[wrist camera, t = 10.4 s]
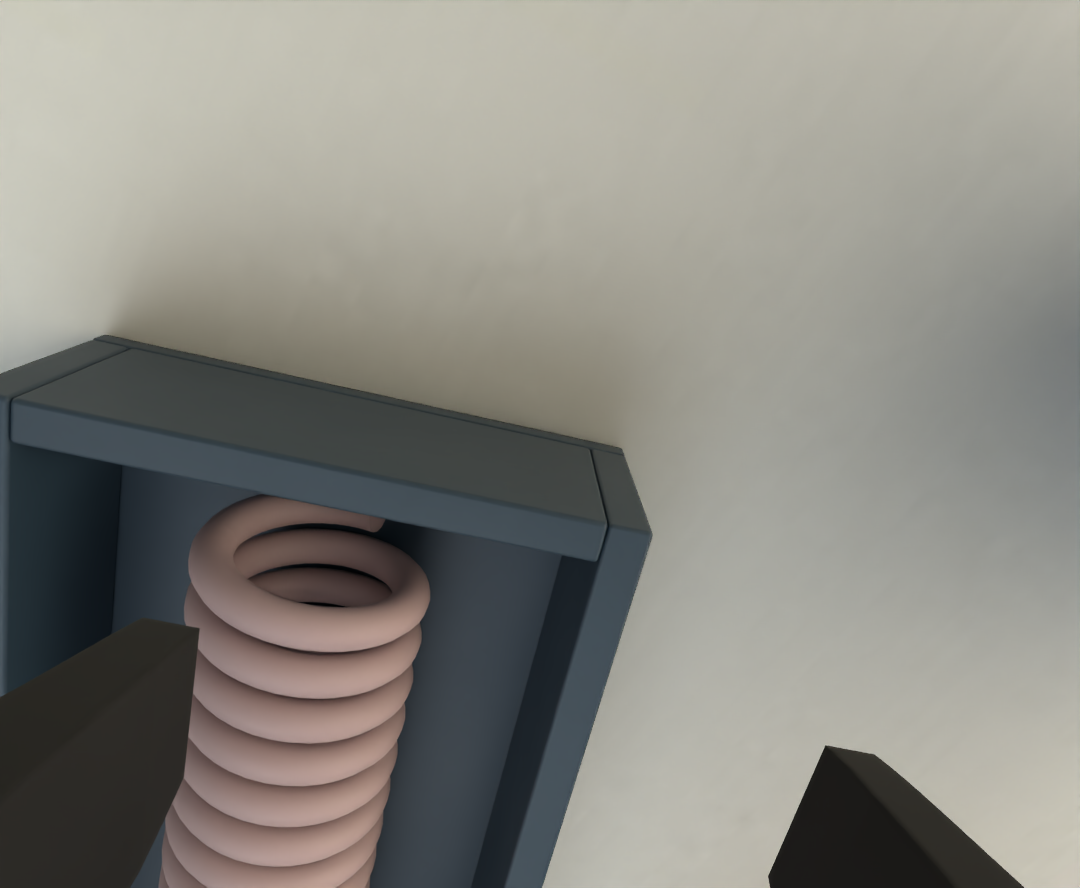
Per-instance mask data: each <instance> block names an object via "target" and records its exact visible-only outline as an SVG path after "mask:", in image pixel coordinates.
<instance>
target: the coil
mask: <svg viewBox="0 0 1080 888" xmlns="http://www.w3.org/2000/svg"><path fill="white" fill-rule="evenodd" d="M385 520H386V519H382V518H377V517H373V516H368V515H363V514H358V513H353V512H348V511H343V510H338V509H334V508H329V507H324V506H319V505H314V504H309V503H304V502H299V501H295V500H290V499H285V498H280V497H275V496H270V495H265V494H259V495H255V496H252V497H248V498H246V499H243V500H241V501H238V502H235V503H233V504H232V505H230V506H228V507H226V508H224V509H222V510H221V511H220V512H218V513H217V514H216V515H214V516H213V517H212V518H211V519H210V520H209V521H208V522H207V523H206V524H205V525H204V526H203V527H202V528H201V529H200V530H199V531H198V533H197V534H196V536H195V538H194V540H193V541H192V545H191V549H190V553H189V560H188V567H189V575H190V578H191V583H190V585H189V587H188V590H187V594H186V598H185V605H184V621H185V624H186V626H191V627H196V628H200V631H199V641H198V650H197V659H196V669H195V678H194V687H193V697H192V706H191V716H190V725H189V734H188V744H187V753H186V763H185V772H184V778H183V780H182V783H181V785H180V787H179V789H178V791H177V794H176V796H175V798H174V800H173V802H172V804H171V807H170V809H169V811H168V813H167V815H166V817H165V826H166V828H165V833H164V839H163V845H162V866H161V872H160V878H159V885H158V886H159V888H369V886H370V875H371V872H372V870H373V867H374V863H375V859H376V845H377V841H378V839H379V837H380V834H381V830H382V826H383V810H384V807H385V805H386V803H387V800H388V796H389V792H390V775H391V773H392V771H393V768H394V766H395V762H396V759H397V755H398V743H397V739H398V737H399V735H400V733H401V731H402V728H403V725H404V721H405V703H404V702H405V700H406V699H407V697H408V694H409V692H410V690H411V686H412V683H413V666H412V662H413V660H414V659H415V657H416V655H417V653H418V650H419V648H420V644H421V641H422V631H421V625H420V621H421V619H422V618H423V617H424V615H425V612H426V610H427V608H428V605H429V602H430V587H429V582H428V579H427V576H426V574H425V573H424V571H423V570H422V568H421V567H420V566H419V565H418V564H417V563H416V562H415V561H414V560H413V559H412V558H411V557H410V556H409V555H408V554H406V553H405V552H403V551H402V550H400V549H399V548H397V547H395V546H393V545H391V544H389V543H387V542H384V541H382V540H379V539H376V538H373V537H370V536H367V535H363V534H358V533H354V532H348V531H342V530H333V529H311V528H304V529H290V530H282V531H275V532H270V533H266V534H261V535H257V534H259V533H261V532H264V531H267V530H270V529H273V528H278V527H282V526H287V525H294V524H305V523H328V524H339V525H346V526H351V527H356V528H360V529H364V530H367V531H370V532H377V531H378V530H379V529H380V528H381V527H382V525H383V523H384V522H385ZM254 535H257V536H254ZM252 536H254V537H252ZM304 563H320V564H333V565H339V566H345V567H349V568H354V569H357V570H360V571H363V572H366V573H368V574H370V575H373V576H375V577H376V578H378V579H380V580H382V581H383V582H384V583H386V584H387V585H388V586H387V585H385V584H384V583H382V582H379V581H377V580H375V579H373V578H370V577H367V576H364V575H361V574H358V573H353V572H349V571H344V570H337V569H330V568H316V567H305V568H289V569H280V570H274V571H269V572H264V573H261V572H263V571H266V570H269V569H273V568H277V567H281V566H287V565H293V564H304ZM258 573H261V574H258ZM256 574H257V575H256ZM299 602H321V603H330V604H336V605H341V606H345V607H329V606H320V605H309V604H304V603H299ZM272 643H273V644H272Z"/></svg>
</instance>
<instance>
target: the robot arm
mask: <svg viewBox="0 0 1080 888" xmlns="http://www.w3.org/2000/svg"><path fill="white" fill-rule="evenodd" d="M199 631H200V628H196V627H191V626H186V625H180V624H175V623H170V622H164V621H159V620H154V619H148V618H143V617H142V618H141V619H139V620H137V621H135V622H133V623H131V624H129V625H127V626H126V627H124V628H122V629H120V630H118V631H117V632H115V633H113V634H111V635H109V636H108V637H106V638H104V639H102V640H101V641H99V642H97V643H95V644H94V645H92V646H90V647H88V648H87V649H85V650H83V651H81V652H80V653H78V654H76V655H74V656H73V657H71V658H69V659H67V660H66V661H64V662H62V663H60V664H59V665H57V666H55V667H53V668H52V669H50V670H48V671H46V672H44V673H43V674H41V675H39V676H37V677H36V678H34V679H32V680H30V681H29V682H27V683H25V684H23V685H21V686H19V687H18V688H16V689H14V690H12V691H10V692H9V693H7V694H5V695H3V696H1V697H0V888H130V887H131V885H132V884H133V882H134V880H135V879H136V877H137V875H138V873H139V872H140V870H141V868H142V866H143V864H144V862H145V859H146V857H147V855H148V853H149V851H150V849H151V847H152V845H153V843H154V841H155V839H156V837H157V835H158V832H159V830H160V828H161V826H162V824H163V822H164V820H165V817H166V815H167V813H168V811H169V809H170V807H171V804H172V802H173V800H174V798H175V796H176V794H177V791H178V789H179V787H180V785H181V783H182V780H183V778H184V772H185V763H186V753H187V744H188V734H189V725H190V716H191V706H192V697H193V687H194V678H195V669H196V659H197V650H198V641H199ZM768 878H769V883H770V888H1024V887H1023V886H1022V885H1021V884H1020V883H1019V882H1018V881H1016V880H1015V879H1014V878H1013V877H1012V876H1011V875H1010V874H1009V873H1008V872H1007V871H1006V870H1004V869H1003V868H1002V867H1001V866H1000V865H999V864H998V863H997V862H996V861H995V860H994V859H992V858H991V857H990V856H989V855H988V854H987V853H986V852H985V851H984V850H983V849H982V848H980V847H979V846H978V845H977V844H976V843H975V842H974V841H973V840H972V839H971V838H970V837H969V836H967V835H966V834H965V833H964V832H963V831H962V830H961V829H960V828H959V827H958V826H957V825H955V824H954V823H953V822H952V821H951V820H950V819H949V818H948V817H947V816H946V815H944V814H943V813H942V812H941V811H940V810H939V809H938V808H937V807H936V806H935V805H933V804H932V803H931V802H930V801H929V800H928V799H927V798H926V797H924V796H923V795H922V794H921V793H920V792H919V791H918V790H917V789H915V788H914V787H913V786H912V785H911V784H910V783H909V782H907V781H906V780H905V779H904V778H903V777H902V776H900V775H899V774H898V773H897V772H896V771H894V770H893V769H892V768H891V767H890V766H888V765H887V764H886V763H885V762H883V761H882V760H881V759H879V758H878V757H877V756H876V755H874V754H869V753H863V752H858V751H853V750H847V749H842V748H837V747H831V746H825V748H824V750H823V752H822V755H821V757H820V759H819V762H818V764H817V766H816V768H815V771H814V773H813V775H812V778H811V780H810V782H809V784H808V787H807V789H806V791H805V793H804V796H803V798H802V800H801V803H800V805H799V807H798V809H797V812H796V814H795V816H794V819H793V821H792V823H791V825H790V828H789V830H788V832H787V835H786V837H785V839H784V841H783V844H782V846H781V848H780V851H779V853H778V855H777V857H776V860H775V862H774V864H773V866H772V869H771V871H770V873H769V876H768Z"/></svg>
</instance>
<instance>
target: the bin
mask: <svg viewBox="0 0 1080 888" xmlns="http://www.w3.org/2000/svg"><path fill="white" fill-rule="evenodd" d="M259 494H265V495H270V496H275V497H280V498H285V499H290V500H295V501H299V502H304V503H309V504H314V505H319V506H324V507H329V508H334V509H338V510H343V511H348V512H353V513H358V514H363V515H368V516H373V517H377V518H382V519H386V520H385V522H384V523H383V525H382V527H381V528H380V529H379V530H378V531H377V532H370V531H367V530H364V529H360V528H356V527H351V526H346V525H339V524H328V523H305V524H294V525H287V526H282V527H278V528H273V529H270V530H267V531H264V532H261V533H259V534H257V535H261V534H266V533H270V532H275V531H282V530H290V529H304V528H311V529H333V530H342V531H348V532H354V533H358V534H363V535H367V536H370V537H373V538H376V539H379V540H382V541H384V542H387V543H389V544H391V545H393V546H395V547H397V548H399V549H400V550H402V551H403V552H405V553H406V554H408V555H409V556H410V557H411V558H412V559H413V560H414V561H415V562H416V563H417V564H418V565H419V566H420V567H421V568H422V570H423V571H424V573H425V574H426V576H427V579H428V582H429V587H430V602H429V605H428V608H427V610H426V612H425V615H424V617H423V618H422V619H421V621H420V625H421V631H422V641H421V644H420V648H419V650H418V653H417V655H416V657H415V659H414V660H413V662H412V666H413V683H412V686H411V690H410V692H409V694H408V697H407V699H406V700H405V702H404V703H405V721H404V725H403V728H402V731H401V733H400V735H399V737H398V739H397V743H398V755H397V759H396V762H395V766H394V768H393V771H392V773H391V775H390V792H389V796H388V800H387V803H386V805H385V807H384V810H383V826H382V830H381V834H380V837H379V839H378V841H377V845H376V859H375V863H374V867H373V870H372V872H371V875H370V886H369V888H542V886H543V883H544V880H545V876H546V873H547V870H548V867H549V864H550V861H551V857H552V854H553V851H554V848H555V845H556V841H557V838H558V835H559V832H560V829H561V826H562V822H563V819H564V816H565V813H566V810H567V806H568V803H569V800H570V797H571V794H572V791H573V787H574V784H575V781H576V778H577V775H578V771H579V768H580V765H581V762H582V759H583V756H584V752H585V749H586V746H587V743H588V740H589V736H590V733H591V730H592V727H593V724H594V721H595V717H596V714H597V711H598V708H599V705H600V701H601V698H602V695H603V692H604V689H605V686H606V682H607V679H608V676H609V673H610V670H611V666H612V663H613V660H614V657H615V654H616V650H617V647H618V644H619V641H620V638H621V635H622V631H623V628H624V625H625V622H626V619H627V615H628V612H629V609H630V606H631V603H632V600H633V596H634V593H635V590H636V587H637V584H638V580H639V577H640V574H641V571H642V568H643V565H644V561H645V558H646V555H647V552H648V549H649V545H650V542H651V539H652V531H651V528H650V525H649V523H648V520H647V517H646V514H645V512H644V509H643V506H642V503H641V501H640V498H639V495H638V492H637V489H636V487H635V484H634V481H633V478H632V476H631V473H630V470H629V467H628V465H627V462H626V459H625V457H624V453H623V450H622V449H621V448H618V447H613V446H608V445H604V444H599V443H595V442H590V441H586V440H581V439H577V438H572V437H568V436H563V435H558V434H554V433H549V432H545V431H540V430H536V429H531V428H527V427H522V426H518V425H513V424H508V423H504V422H499V421H495V420H490V419H486V418H481V417H477V416H472V415H468V414H463V413H458V412H454V411H449V410H445V409H440V408H436V407H431V406H427V405H422V404H418V403H413V402H409V401H404V400H399V399H395V398H390V397H386V396H381V395H377V394H372V393H368V392H363V391H359V390H354V389H349V388H345V387H340V386H336V385H331V384H327V383H322V382H318V381H313V380H309V379H304V378H299V377H295V376H290V375H286V374H281V373H277V372H272V371H268V370H263V369H259V368H254V367H249V366H245V365H240V364H236V363H231V362H227V361H222V360H218V359H213V358H209V357H204V356H199V355H195V354H190V353H186V352H181V351H177V350H172V349H168V348H163V347H159V346H154V345H149V344H145V343H140V342H136V341H131V340H127V339H122V338H118V337H113V336H109V335H103V336H100V337H97V338H95V339H94V340H92V341H88V342H86V343H83V344H80V345H77V346H75V347H72V348H69V349H66V350H64V351H61V352H58V353H55V354H53V355H50V356H47V357H44V358H42V359H39V360H36V361H33V362H31V363H28V364H25V365H22V366H20V367H17V368H14V369H12V370H9V371H6V372H3V373H1V374H0V697H1V696H3V695H5V694H7V693H9V692H10V691H12V690H14V689H16V688H18V687H19V686H21V685H23V684H25V683H27V682H29V681H30V680H32V679H34V678H36V677H37V676H39V675H41V674H43V673H44V672H46V671H48V670H50V669H52V668H53V667H55V666H57V665H59V664H60V663H62V662H64V661H66V660H67V659H69V658H71V657H73V656H74V655H76V654H78V653H80V652H81V651H83V650H85V649H87V648H88V647H90V646H92V645H94V644H95V643H97V642H99V641H101V640H102V639H104V638H106V637H108V636H109V635H111V634H113V633H115V632H117V631H118V630H120V629H122V628H124V627H126V626H127V625H129V624H131V623H133V622H135V621H137V620H139V619H141V618H142V617H143V618H148V619H154V620H159V621H164V622H170V623H175V624H180V625H186V624H185V621H184V605H185V598H186V594H187V590H188V587H189V585H190V583H191V578H190V575H189V567H188V560H189V553H190V549H191V545H192V541H193V540H194V538H195V536H196V534H197V533H198V531H199V530H200V529H201V528H202V527H203V526H204V525H205V524H206V523H207V522H208V521H209V520H210V519H211V518H212V517H213V516H214V515H216V514H217V513H218V512H220V511H221V510H222V509H224V508H226V507H228V506H230V505H232V504H233V503H235V502H238V501H241V500H243V499H246V498H248V497H252V496H255V495H259ZM257 535H254V536H257ZM254 536H252V537H254ZM305 567H316V568H330V569H337V570H344V571H349V572H353V573H358V574H361V575H364V576H367V577H370V578H373V579H375V580H377V581H379V582H382V583H384V582H383V581H382V580H380V579H378V578H376V577H375V576H373V575H370V574H368V573H366V572H363V571H360V570H357V569H354V568H349V567H345V566H339V565H333V564H320V563H304V564H293V565H287V566H281V567H277V568H273V569H269V570H266V571H263V572H261V573H264V572H269V571H274V570H280V569H289V568H305ZM261 573H258V574H261ZM256 575H257V574H256ZM384 584H385V585H387V584H386V583H384ZM387 586H388V585H387ZM299 603H304V604H309V605H320V606H329V607H345V606H341V605H336V604H330V603H321V602H299ZM272 644H273V643H272ZM165 828H166V826H165V820H164V822H163V824H162V826H161V828H160V830H159V832H158V835H157V837H156V839H155V841H154V843H153V845H152V847H151V849H150V851H149V853H148V855H147V857H146V859H145V862H144V864H143V866H142V868H141V870H140V872H139V873H138V875H137V877H136V879H135V880H134V882H133V884H132V885H131V887H130V888H159V886H158V885H159V878H160V872H161V866H162V845H163V839H164V833H165Z"/></svg>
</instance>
